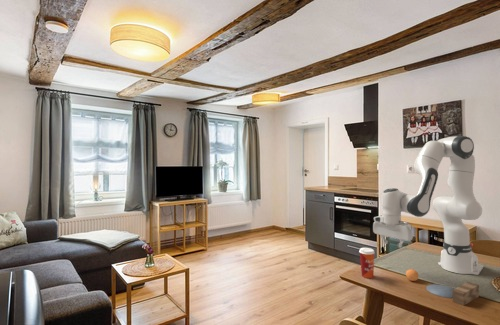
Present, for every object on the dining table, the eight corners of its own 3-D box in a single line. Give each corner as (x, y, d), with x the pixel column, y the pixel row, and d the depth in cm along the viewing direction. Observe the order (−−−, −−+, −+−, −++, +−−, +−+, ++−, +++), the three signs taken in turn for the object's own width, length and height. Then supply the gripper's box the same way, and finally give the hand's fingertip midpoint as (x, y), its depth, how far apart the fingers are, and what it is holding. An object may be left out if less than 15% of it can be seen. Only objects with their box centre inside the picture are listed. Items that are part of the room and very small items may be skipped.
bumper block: (468, 293, 127) (468, 281, 127) (479, 296, 124) (478, 285, 124) (452, 301, 120) (452, 290, 120) (463, 305, 117) (463, 293, 117)
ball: (409, 277, 145) (409, 266, 145) (420, 280, 141) (420, 269, 141) (403, 279, 142) (403, 269, 142) (414, 283, 138) (414, 272, 138)
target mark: (435, 282, 139) (435, 282, 139) (466, 292, 127) (466, 292, 127) (420, 289, 132) (420, 289, 132) (452, 300, 121) (452, 300, 121)
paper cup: (368, 280, 143) (367, 252, 143) (356, 275, 150) (355, 248, 150) (379, 277, 147) (378, 250, 147) (366, 272, 154) (366, 246, 154)
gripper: (414, 221, 143) (415, 249, 143) (378, 215, 160) (378, 240, 160) (407, 223, 139) (408, 251, 139) (371, 217, 157) (371, 242, 157)
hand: (392, 245), depth 150 cm, fingers open, 7 cm apart
